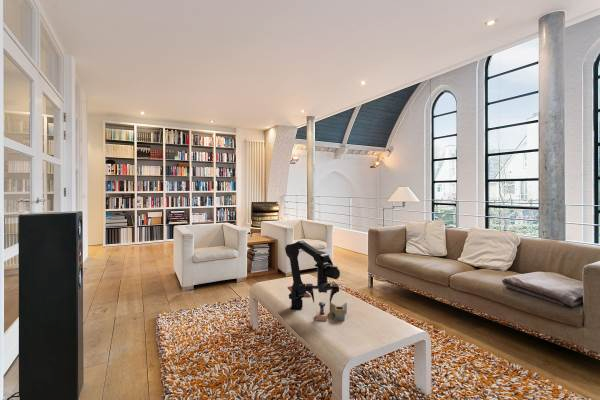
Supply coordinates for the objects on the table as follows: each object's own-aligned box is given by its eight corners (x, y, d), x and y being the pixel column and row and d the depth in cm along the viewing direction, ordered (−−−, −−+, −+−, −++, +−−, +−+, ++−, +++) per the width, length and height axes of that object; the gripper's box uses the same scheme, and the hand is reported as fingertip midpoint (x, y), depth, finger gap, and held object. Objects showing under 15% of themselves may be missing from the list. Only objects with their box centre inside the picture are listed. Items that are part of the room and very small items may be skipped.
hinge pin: (318, 319, 172) (318, 304, 171) (318, 316, 175) (318, 302, 175) (325, 319, 172) (325, 304, 171) (324, 316, 175) (325, 302, 175)
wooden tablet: (312, 297, 207) (312, 295, 207) (298, 299, 204) (298, 297, 203) (298, 286, 232) (298, 283, 232) (285, 287, 228) (285, 285, 228)
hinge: (330, 320, 171) (330, 309, 170) (329, 312, 182) (329, 302, 181) (349, 320, 170) (349, 310, 170) (346, 312, 181) (346, 302, 181)
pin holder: (316, 320, 170) (316, 315, 170) (316, 315, 176) (316, 311, 176) (327, 320, 170) (327, 316, 170) (326, 316, 176) (326, 311, 176)
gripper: (305, 279, 165) (305, 307, 165) (340, 280, 164) (339, 308, 165) (306, 273, 176) (305, 300, 177) (338, 274, 175) (337, 301, 176)
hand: (321, 302), depth 173 cm, fingers open, 9 cm apart
